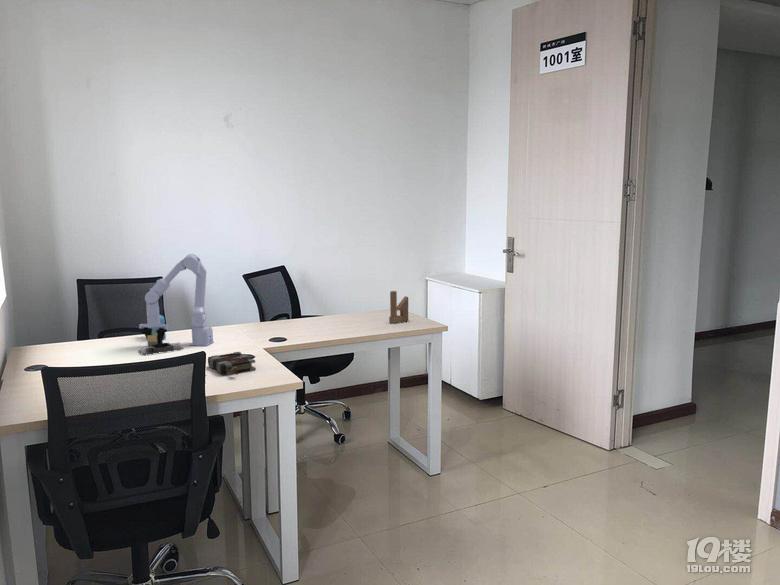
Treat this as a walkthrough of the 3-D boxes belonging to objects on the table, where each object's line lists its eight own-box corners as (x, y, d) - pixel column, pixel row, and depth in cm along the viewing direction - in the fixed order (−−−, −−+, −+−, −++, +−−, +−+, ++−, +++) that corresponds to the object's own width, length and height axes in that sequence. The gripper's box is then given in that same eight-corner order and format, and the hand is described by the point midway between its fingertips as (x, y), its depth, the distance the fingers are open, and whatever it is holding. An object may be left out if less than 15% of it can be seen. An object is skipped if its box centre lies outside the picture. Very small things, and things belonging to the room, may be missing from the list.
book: (240, 361, 284) (239, 350, 283) (263, 374, 264) (262, 362, 263) (207, 367, 276) (206, 355, 275) (228, 381, 255) (228, 368, 254)
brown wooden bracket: (408, 321, 363) (408, 290, 360) (392, 323, 357) (392, 292, 355) (405, 320, 366) (404, 289, 363) (389, 322, 361) (388, 291, 358)
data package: (166, 339, 326) (164, 316, 324) (157, 340, 323) (155, 317, 322) (157, 335, 335) (155, 313, 333) (148, 336, 333) (147, 314, 331)
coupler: (162, 345, 314) (162, 333, 313) (157, 347, 309) (156, 335, 308) (153, 345, 315) (152, 333, 314) (148, 347, 310) (147, 335, 309)
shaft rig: (177, 345, 313) (177, 340, 312) (183, 349, 305) (183, 344, 305) (138, 351, 302) (137, 346, 302) (143, 355, 295) (142, 350, 294)
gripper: (134, 316, 307) (137, 344, 309) (162, 317, 304) (164, 345, 307) (142, 314, 314) (144, 341, 316) (170, 314, 311) (172, 342, 313)
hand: (155, 343), depth 312 cm, fingers closed on coupler, 5 cm apart
